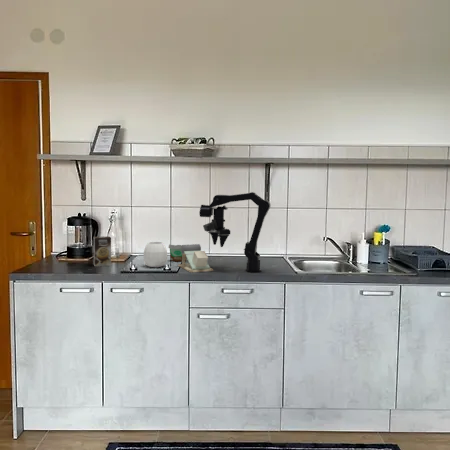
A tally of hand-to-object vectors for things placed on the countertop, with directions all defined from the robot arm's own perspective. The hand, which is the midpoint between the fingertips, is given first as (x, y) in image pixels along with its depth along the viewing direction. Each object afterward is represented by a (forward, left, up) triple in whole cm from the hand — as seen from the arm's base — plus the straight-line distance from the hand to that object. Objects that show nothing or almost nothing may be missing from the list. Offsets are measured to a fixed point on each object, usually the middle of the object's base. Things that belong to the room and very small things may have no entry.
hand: (218, 245), depth 261 cm
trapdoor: (+11, -7, -9) cm, 16 cm away
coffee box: (+57, -32, -13) cm, 67 cm away
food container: (+12, -30, -13) cm, 35 cm away
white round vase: (+30, -19, -13) cm, 38 cm away
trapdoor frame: (+11, -6, -13) cm, 18 cm away
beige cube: (+11, -1, -9) cm, 14 cm away
